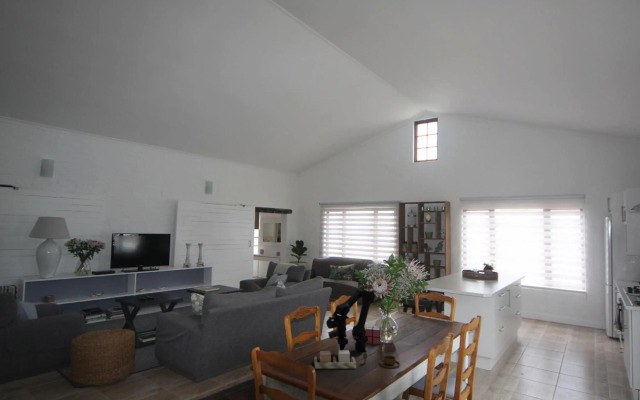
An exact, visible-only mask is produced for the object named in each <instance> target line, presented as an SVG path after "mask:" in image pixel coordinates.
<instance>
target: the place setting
mask: <svg viewBox="0 0 640 400" xmlns="http://www.w3.org/2000/svg"><path fill="white" fill-rule="evenodd" d="M362 353H363V354H362V358H363V359H364V364H367V359H368V353H366V352H362ZM383 363H384V364H385V365H384V364H383ZM395 364H397V365H395ZM379 365H380V366H381V367H382V368H385V367H386V368H385V369H397V367H398V368H399V367H400V365H401V363H400V361H398V360H397V358H396V356H395V355H389V354H387V355H384V356H383V359H381V360H379ZM394 365H395V366H394ZM373 367H376V366H375V365H373Z"/></svg>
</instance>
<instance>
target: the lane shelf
mask: <svg viewBox="0 0 640 400" xmlns="http://www.w3.org/2000/svg"><path fill="white" fill-rule="evenodd" d="M313 360H314V361H313V364H314V369H357V362H356V359H355V356H351V357H350V363H338V361H337V358H336V356H332V362H331V363H320V362H318V358H317V356H314V359H313Z"/></svg>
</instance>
